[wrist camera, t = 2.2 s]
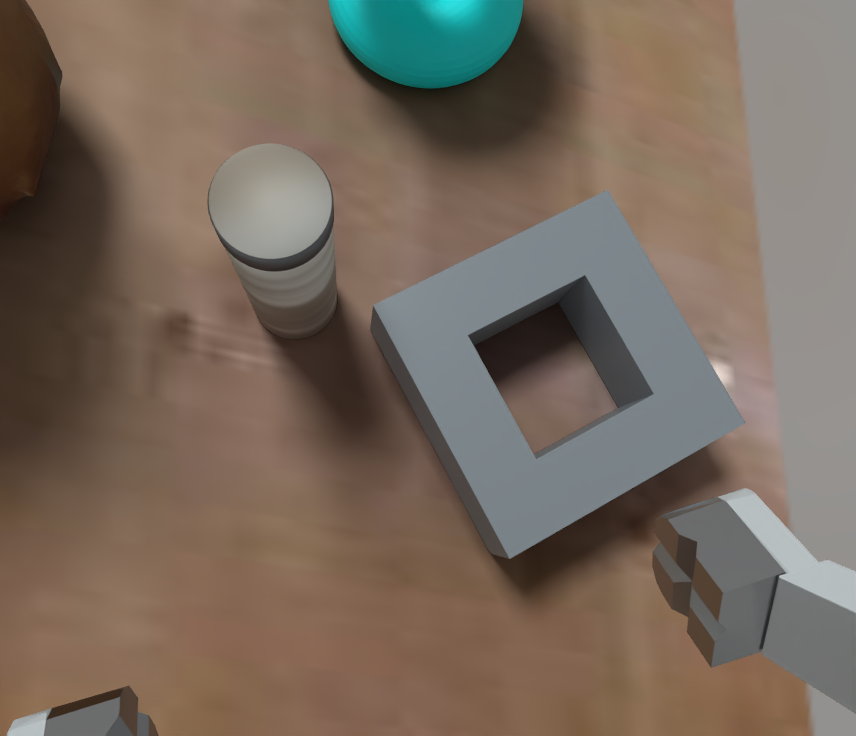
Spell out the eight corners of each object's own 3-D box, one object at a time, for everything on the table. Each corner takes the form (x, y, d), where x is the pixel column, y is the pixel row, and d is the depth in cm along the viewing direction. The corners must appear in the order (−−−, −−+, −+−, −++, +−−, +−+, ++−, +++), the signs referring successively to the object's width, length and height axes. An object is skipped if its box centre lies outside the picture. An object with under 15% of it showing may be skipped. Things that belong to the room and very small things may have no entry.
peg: (352, 316, 37) (354, 226, 25) (276, 354, 36) (241, 280, 25) (314, 244, 38) (298, 123, 26) (237, 280, 37) (185, 172, 25)
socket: (699, 433, 38) (745, 422, 33) (489, 553, 36) (509, 559, 31) (578, 225, 39) (607, 189, 35) (370, 329, 37) (373, 305, 33)
